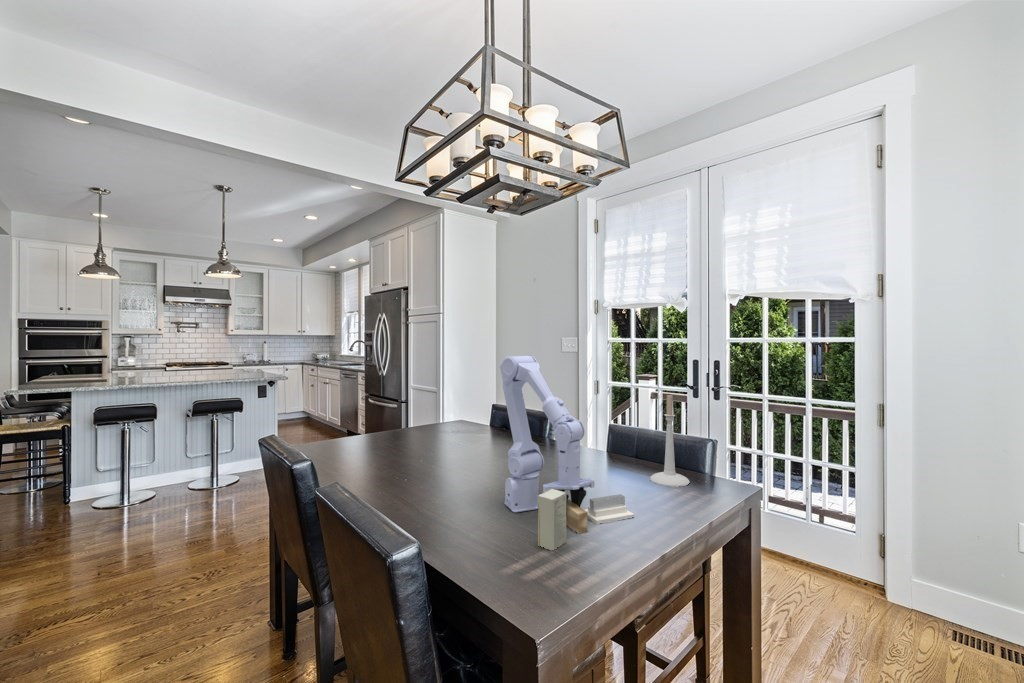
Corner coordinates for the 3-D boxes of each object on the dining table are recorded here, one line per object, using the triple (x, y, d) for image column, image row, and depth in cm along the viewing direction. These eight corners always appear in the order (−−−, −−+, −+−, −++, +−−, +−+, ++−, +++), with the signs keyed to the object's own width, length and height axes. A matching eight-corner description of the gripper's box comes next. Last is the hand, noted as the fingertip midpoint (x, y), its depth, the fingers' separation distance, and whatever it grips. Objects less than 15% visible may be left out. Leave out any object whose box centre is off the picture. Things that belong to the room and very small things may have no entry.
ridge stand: (596, 524, 119) (596, 505, 119) (581, 513, 126) (581, 495, 126) (634, 517, 123) (634, 499, 123) (617, 507, 131) (617, 490, 131)
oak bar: (577, 533, 113) (577, 513, 113) (552, 513, 126) (552, 495, 126) (587, 531, 114) (587, 512, 114) (561, 512, 127) (561, 494, 127)
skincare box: (552, 537, 111) (552, 488, 111) (567, 542, 108) (567, 492, 108) (537, 546, 106) (536, 494, 106) (552, 552, 103) (552, 499, 103)
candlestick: (695, 487, 148) (695, 396, 148) (656, 487, 149) (656, 396, 149) (681, 475, 161) (681, 392, 161) (645, 475, 161) (645, 391, 161)
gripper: (551, 473, 114) (551, 526, 114) (600, 467, 119) (600, 518, 119) (539, 465, 120) (539, 516, 120) (586, 460, 126) (586, 509, 126)
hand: (569, 516), depth 120 cm, fingers closed on oak bar, 3 cm apart
